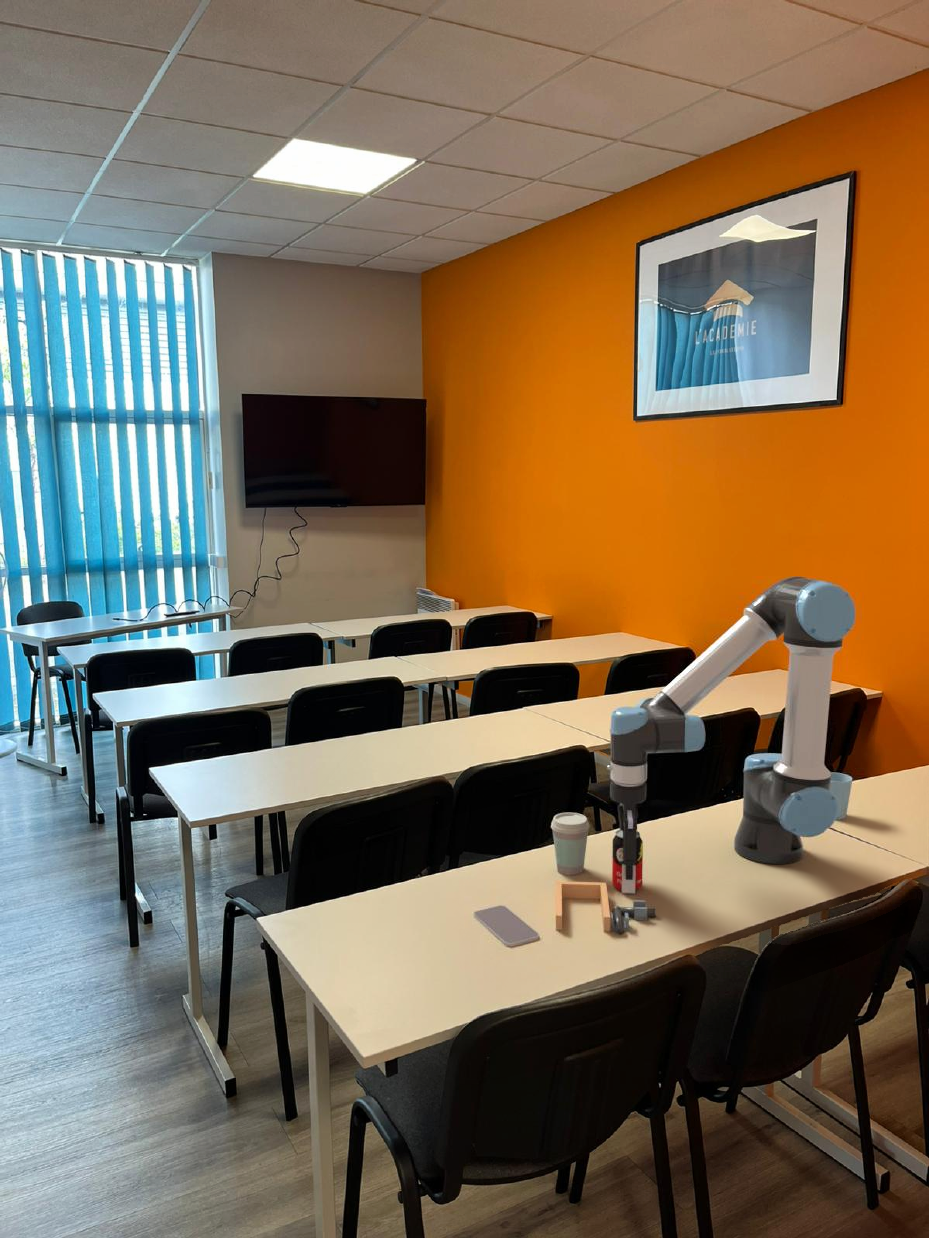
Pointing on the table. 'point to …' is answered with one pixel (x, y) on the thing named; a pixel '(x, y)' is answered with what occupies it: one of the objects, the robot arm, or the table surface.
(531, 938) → the smartphone
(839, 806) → the cup
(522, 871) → the table surface
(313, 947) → the table surface
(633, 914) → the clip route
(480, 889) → the table surface
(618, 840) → the beverage can
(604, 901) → the end holder
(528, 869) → the table surface
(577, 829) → the coffee cup
